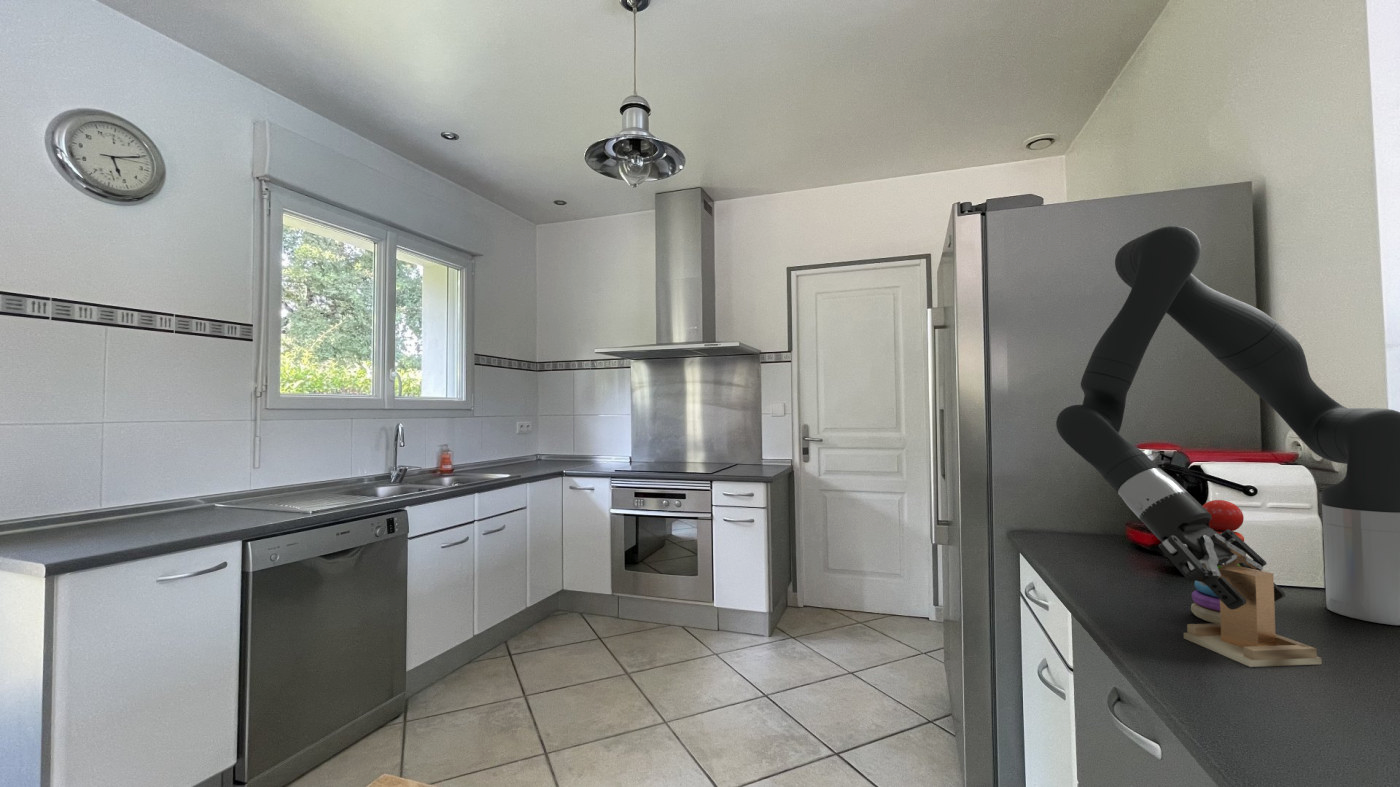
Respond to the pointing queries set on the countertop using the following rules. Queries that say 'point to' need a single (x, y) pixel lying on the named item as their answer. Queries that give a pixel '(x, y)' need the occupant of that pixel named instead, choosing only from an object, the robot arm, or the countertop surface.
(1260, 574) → the brown rectangular block
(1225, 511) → the stacking toy
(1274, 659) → the wooden tray
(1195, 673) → the countertop surface
